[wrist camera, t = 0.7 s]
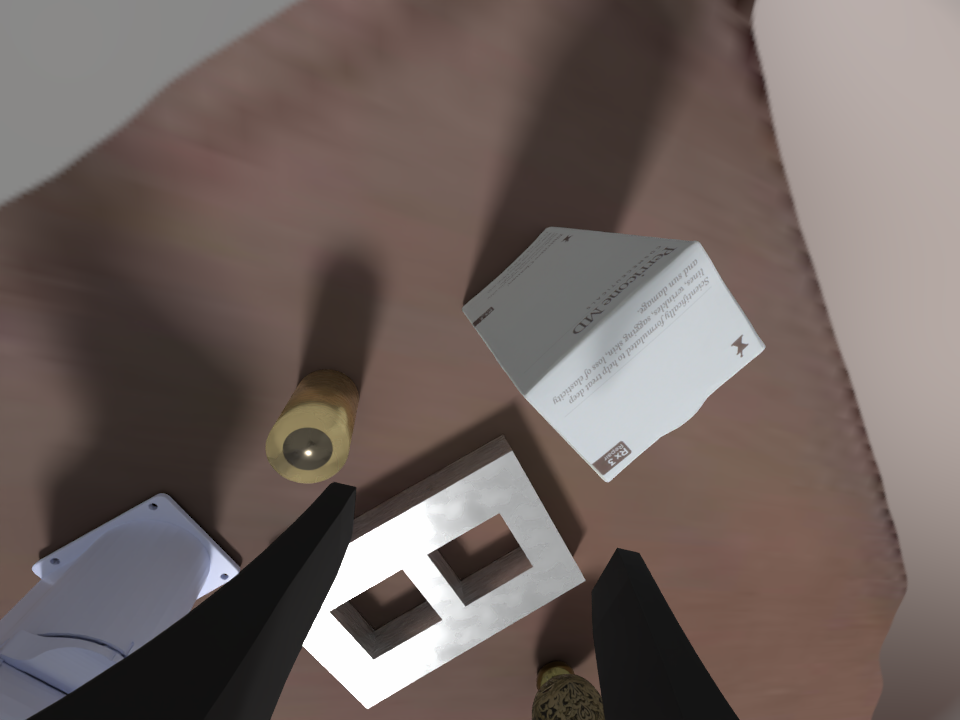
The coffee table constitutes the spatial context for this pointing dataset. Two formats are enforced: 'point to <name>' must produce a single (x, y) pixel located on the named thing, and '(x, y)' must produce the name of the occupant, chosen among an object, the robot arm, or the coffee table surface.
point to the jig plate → (440, 574)
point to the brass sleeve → (314, 428)
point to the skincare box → (613, 337)
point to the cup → (565, 695)
